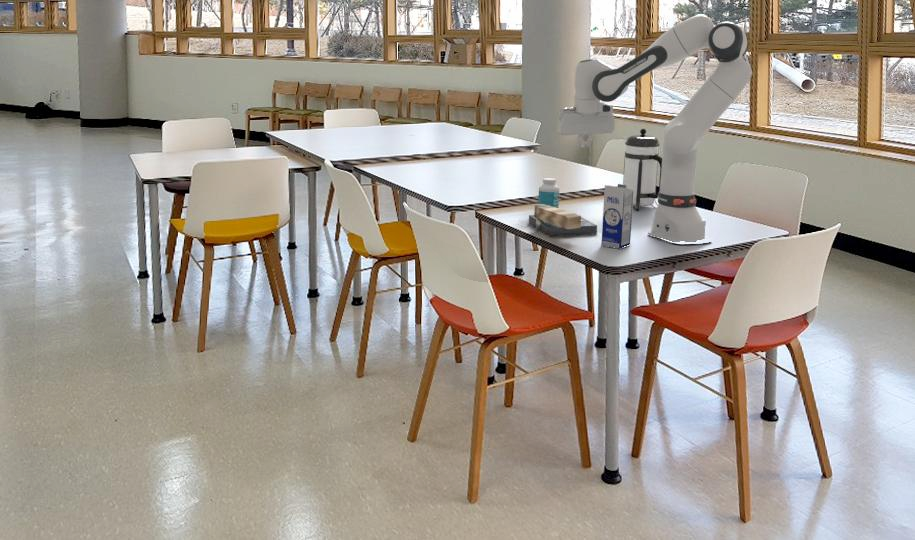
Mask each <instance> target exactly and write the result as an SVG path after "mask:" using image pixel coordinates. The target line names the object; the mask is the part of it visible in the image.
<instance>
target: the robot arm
mask: <svg viewBox="0 0 915 540" xmlns="http://www.w3.org/2000/svg"><path fill="white" fill-rule="evenodd" d="M748 48H749V38H748V36H747V35H746V32H745V31H744V29H743V28H742V27H740V26H739V25H738V24H737V23H734V22H731V21H722V22H720V23H718V24H715V23H714V22H713V20H712V19H711V18H710V17H708V15H705V14H702V13H698V14H696V15H694V16H691V17H689V18H687V19H685V20H683V21H680V22H678V23H677V24H675V25H674V26H672V27H671V28H668V30H666V31H665V32H663V33H662V34H661V35H660V36H659V37H658V38H657V39H655V40H654V42H652V43H651V44H650V45H649V46H648V47H647V48H646V49H645V50H644V51H643V52H641V54H639V55H638V56H636V57H634V58H633V59H631V60H630V61H628V62H626V63H625V64H623V65H621V66H620V67H617V68H616V67H612V66H610V65H609V64H606V63H604V62H602V61H601V59H599V58H596V57H595V58H594V57H593V58H587V59H583V60H581V61H579V62H578V63H576V64H577V65H576V68H575V73H574V88H575V89H574V91H575V92H574V97H573V107H572V106H571V107H562V108H561V109H560V110H559V111H558V116H557V117H558V122H557V133H558V134H559V135H561V136H577V138H578V140H579V143H580V148H590V147H591V142H592V140H593V139H594V137H595V135H600V134H612V133H614V131H615V124H616V123H615V115H614V114H613V110H614V106H613V105H610V104H607V103H611V102H613V101H615V100H616V99H618V98H620V97H621V96H622V95H623V94H625V93H626V92H627V91H628V89H629V85H630V84H631V83H634V82H635V81H637V80H639V79H640V78H641V77H643V76H645V75H647V74H648V73H651V72H652V71H654V70H658V69H662V68H665V67H668V66H672V65H674V64H677V63H680V62H682V61H683V60H685V59H686V60H687V59H688V58H689V57H691V56H692V55H694V54H696V53H697V52H699V51H701V50H703V49H710V50H711V52H712V54H713V55H714V57H715V59H716V60H717V61H718V65H717V66H716V68H715V70H714V71H713V72H712V73H711V75H709V76H708V77H707V79H706V80H705V81H704V82H703V84H701V86H700V87H699V88H698V89H697V90H696V92H695V93H694V94H693V95H692V97H690V99H689V101H687V103H685V105H684V106H683V108H682V109H681V111H680V112H679V113H678V114H677V115H676V116H675V117H674V118H672V119H671V120H669V122H668V123H667V124H666V126H665V128H664V133H663V145H662V157H661V158H662V169H661V182H660V192H659V193H658V192H657V193H658V198H657V205H658V206H657V205H656V207H655V208H656V209H655V208H654V209H655V210H653V214H652V222H651V226H650V227H651V228H650V231H648V232H647V235H648V234H649V235H652V236H655V237H659V238H663V239H666V240H669V241H672V242H680V241H685V242H696V241H697V240H702V239H705V235H706V220H705V219H703V218H702V217H701V215H700V213H699V211H698V209H697V207H696V205H697V204H696V203H697V199H696V196H695V191H694V190H695V179H696V178H695V177H696V166H697V163H696V161H697V151H698V145H699V144H700V143H701V141H702V140H703V139H704V137H705V136H706V135H707V134H708V133H709V131H710V130H711V129H712V127H713V126H714V125H715V123H716V122H717V121H718V120H719V118H721V116H722V115H723V114H724V112H726V110H728V108H729V107H730V106H731V105H732V103H733V102H734V101H735V100H736V99H737V98H738V97H739V96H740V95H741V93H742V91H743V90H745V87H746V86H747V84H748V82H749V81H750V80H751V78H752V75H753V69H752V67H751V65H750V64H749V62H748V61H747V60H745V59H744V56H745V55H746V54H747V51H748ZM585 135H587V137H588V138H587V140H586V141H585V140H584V139H583V138H585ZM649 235H648V236H649ZM652 236H651V237H652Z"/></svg>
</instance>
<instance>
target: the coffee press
mask: <svg viewBox="0 0 915 540" xmlns="http://www.w3.org/2000/svg"><path fill="white" fill-rule="evenodd" d="M639 132H640V134H633V135H630V136H628V137H627V139H626V141H625V142H624V144H625V151H624V164H623V165H624V166H623V176H622V177H623V178H622V179H623V180H622V185H626V188H628V189H631V190H633V191H634V192H633V207H635V211H636V212H640V207H649V206H651V207H652V208H654V209H655V208H656V207H657V206H658V202H656V199H658V193H659V192H660V182H661V169H662V157H661V156H659V147H660V146H661V143H660V141H659V139H658V138H657V137H656V136H653V135H649V134H646V133H647V130H646V129H645V128H641V129H640V130H639ZM658 166H659V183H658V191H657V190H656V189H657V182H658V181H657V180H658V179H657V178H658V176H657V175H658ZM654 203H655V205H656V207H655V206H654Z"/></svg>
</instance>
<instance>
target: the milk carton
mask: <svg viewBox="0 0 915 540" xmlns="http://www.w3.org/2000/svg"><path fill="white" fill-rule="evenodd" d="M603 192H604V195H603V207H602V208H603V209H602V210H603V211H602V227H601V230H602V231H601V245H600V246H601V247H605V246H609V247H608V248H610V247H615V248H622V247H624V246H627V245H629V244H630V245H631V238H632V237H631V236H632V235H631V234H632V233H631V232H632V221H633V220H632V219H633V218H632V217H633V208H634V206H633V192H634V191H633V190H631V189H628V188H626V185H624V184H623V183H622V184H621V183H617V186H616V185H615V186H614V185H606V184H605V185H604V191H603ZM602 245H603V246H602ZM615 248H614V249H615ZM622 249H623V248H622Z"/></svg>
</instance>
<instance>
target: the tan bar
mask: <svg viewBox="0 0 915 540" xmlns="http://www.w3.org/2000/svg"><path fill="white" fill-rule="evenodd" d="M574 213H575V212H570V211H567V210H564V209H561V208H559V207H558V208H555V207H552V206H548V205H544V204H537V203H536V204H534V214H533V215H534V217H535V218H537V219H540V220H543V221H545V222H548V223H551V224H554V225H557V226H560V227H563V228H566V229H575V228H581V217H582V216H581V215H580V214H577V213H575V214H574Z"/></svg>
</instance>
